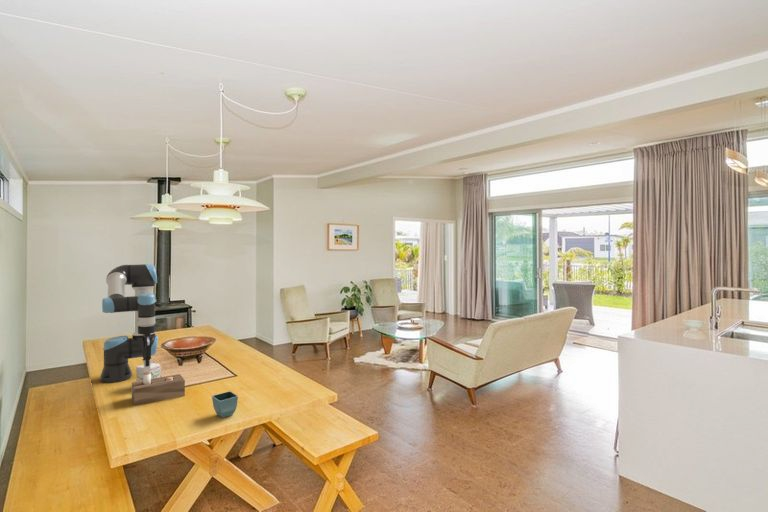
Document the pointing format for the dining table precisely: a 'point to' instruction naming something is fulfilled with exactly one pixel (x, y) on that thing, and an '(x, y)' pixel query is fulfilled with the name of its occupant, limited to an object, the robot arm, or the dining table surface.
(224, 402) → the flower pot
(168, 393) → the walnut block
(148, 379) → the peg
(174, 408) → the dining table surface
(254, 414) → the dining table surface
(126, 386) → the dining table surface
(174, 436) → the dining table surface
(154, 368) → the ink box
